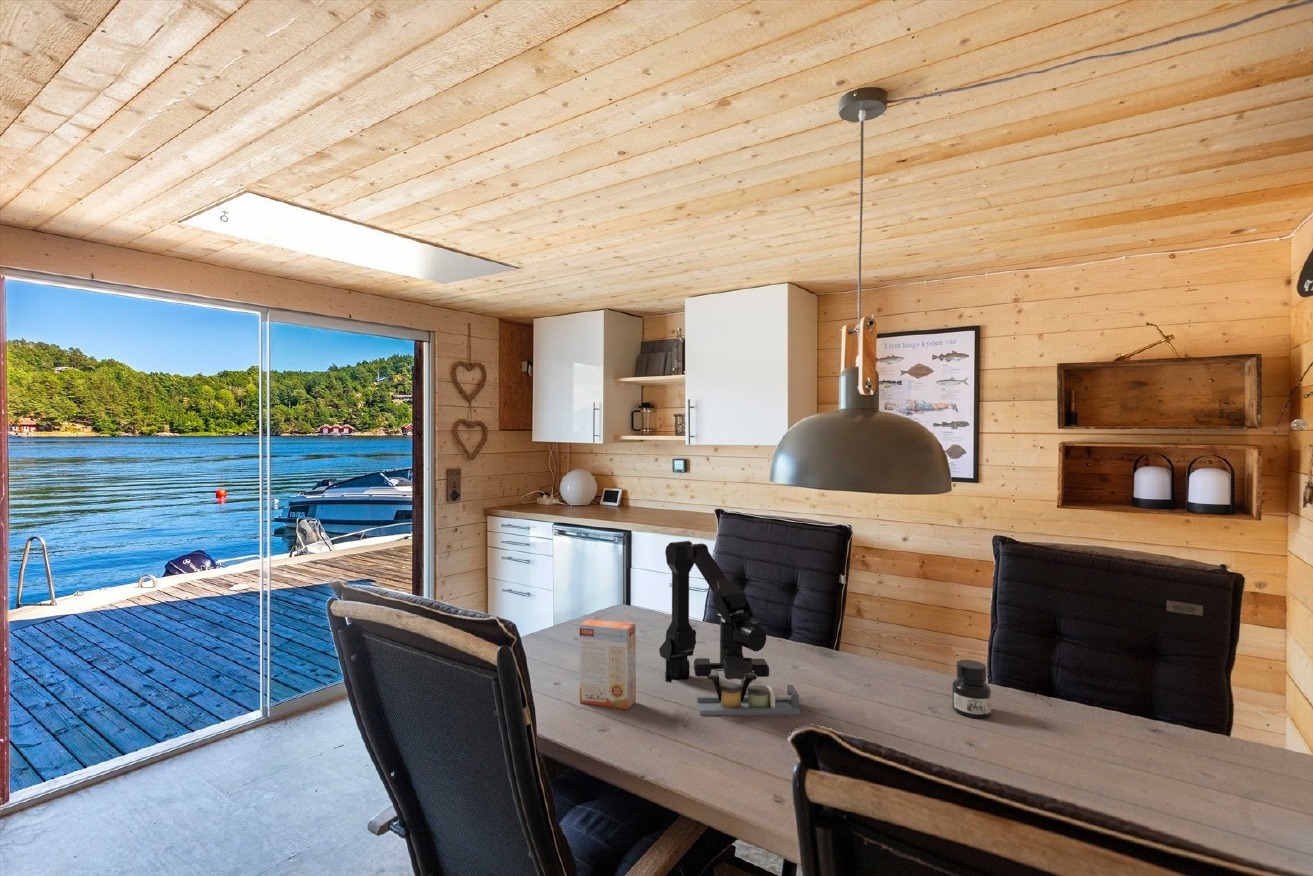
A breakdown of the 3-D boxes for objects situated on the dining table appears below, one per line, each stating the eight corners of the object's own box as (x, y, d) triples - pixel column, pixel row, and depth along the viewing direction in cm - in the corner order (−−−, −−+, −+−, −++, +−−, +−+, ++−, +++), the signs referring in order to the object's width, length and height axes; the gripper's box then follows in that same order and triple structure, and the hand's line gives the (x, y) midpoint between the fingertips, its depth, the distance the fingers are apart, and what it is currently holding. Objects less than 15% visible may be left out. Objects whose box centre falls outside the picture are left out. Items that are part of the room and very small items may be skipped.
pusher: (771, 710, 156) (771, 695, 156) (766, 701, 162) (766, 685, 162) (818, 710, 156) (818, 694, 156) (812, 700, 162) (812, 685, 162)
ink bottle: (952, 715, 155) (952, 667, 155) (948, 702, 163) (948, 656, 164) (995, 721, 152) (995, 672, 152) (990, 707, 160) (989, 661, 160)
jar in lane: (749, 712, 156) (749, 693, 156) (746, 703, 161) (746, 685, 161) (771, 711, 156) (770, 693, 156) (766, 702, 161) (766, 685, 161)
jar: (721, 709, 156) (721, 691, 156) (719, 700, 161) (719, 682, 161) (742, 709, 156) (742, 691, 156) (739, 700, 161) (739, 682, 161)
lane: (700, 717, 154) (700, 697, 154) (697, 702, 163) (697, 683, 163) (799, 716, 154) (799, 696, 154) (791, 702, 163) (791, 683, 163)
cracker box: (636, 702, 163) (636, 622, 163) (627, 711, 158) (627, 629, 158) (589, 694, 168) (589, 617, 168) (578, 703, 163) (578, 623, 163)
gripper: (697, 650, 150) (696, 714, 150) (773, 650, 151) (773, 715, 150) (694, 635, 162) (693, 695, 161) (765, 636, 162) (764, 696, 162)
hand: (730, 700), depth 158 cm, fingers closed on jar, 5 cm apart
